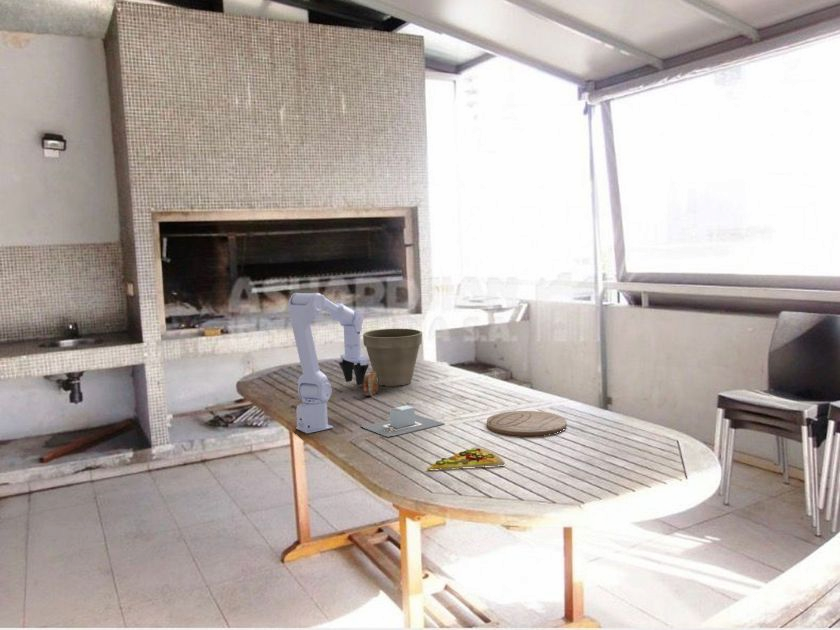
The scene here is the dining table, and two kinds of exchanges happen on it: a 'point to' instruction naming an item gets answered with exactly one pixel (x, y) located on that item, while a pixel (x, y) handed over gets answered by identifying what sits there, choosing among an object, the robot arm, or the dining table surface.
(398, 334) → the plant pot
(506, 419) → the trivet
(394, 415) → the card box
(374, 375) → the bread slice
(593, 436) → the dining table surface
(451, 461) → the pizza slice
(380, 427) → the mat
